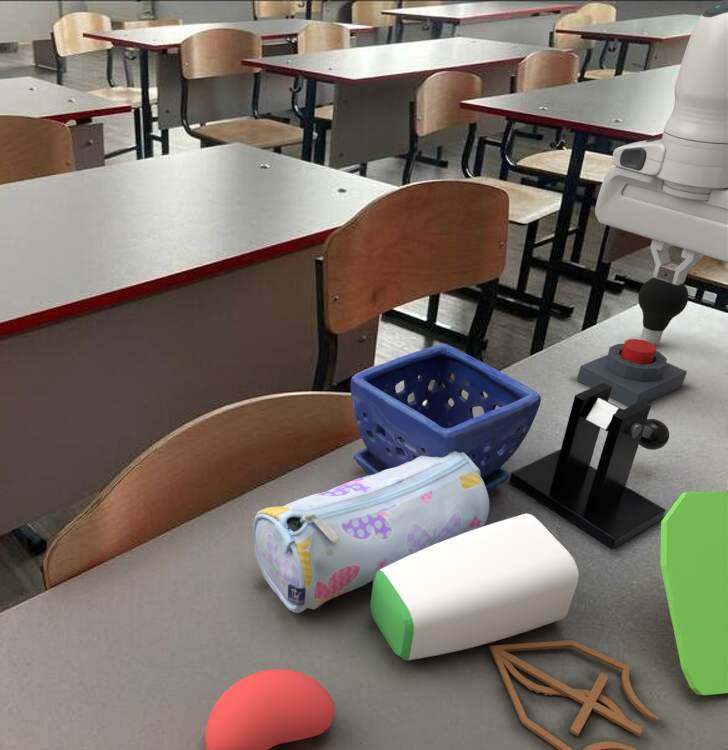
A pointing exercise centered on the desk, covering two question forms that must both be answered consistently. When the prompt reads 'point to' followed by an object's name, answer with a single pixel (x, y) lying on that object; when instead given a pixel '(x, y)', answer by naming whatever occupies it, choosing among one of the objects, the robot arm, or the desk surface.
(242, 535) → the desk surface
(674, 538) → the green stand with toy
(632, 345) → the button
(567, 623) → the desk surface
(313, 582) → the pencil case
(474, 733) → the desk surface
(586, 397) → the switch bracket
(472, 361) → the flower pot
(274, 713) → the stress ball
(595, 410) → the switch lever
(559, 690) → the emblem
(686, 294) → the light bulb
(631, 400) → the control box
